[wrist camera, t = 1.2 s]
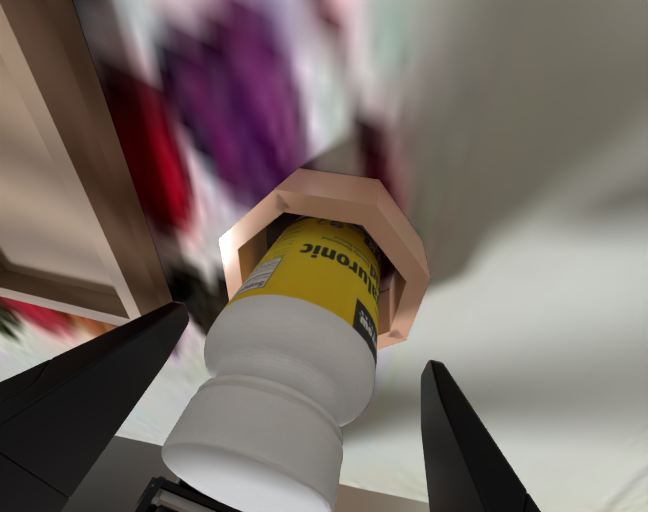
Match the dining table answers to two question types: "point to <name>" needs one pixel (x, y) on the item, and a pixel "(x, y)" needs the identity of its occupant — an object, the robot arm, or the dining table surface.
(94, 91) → the tray
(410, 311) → the tan octagonal bowl
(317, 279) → the supplement bottle
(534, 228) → the dining table surface
